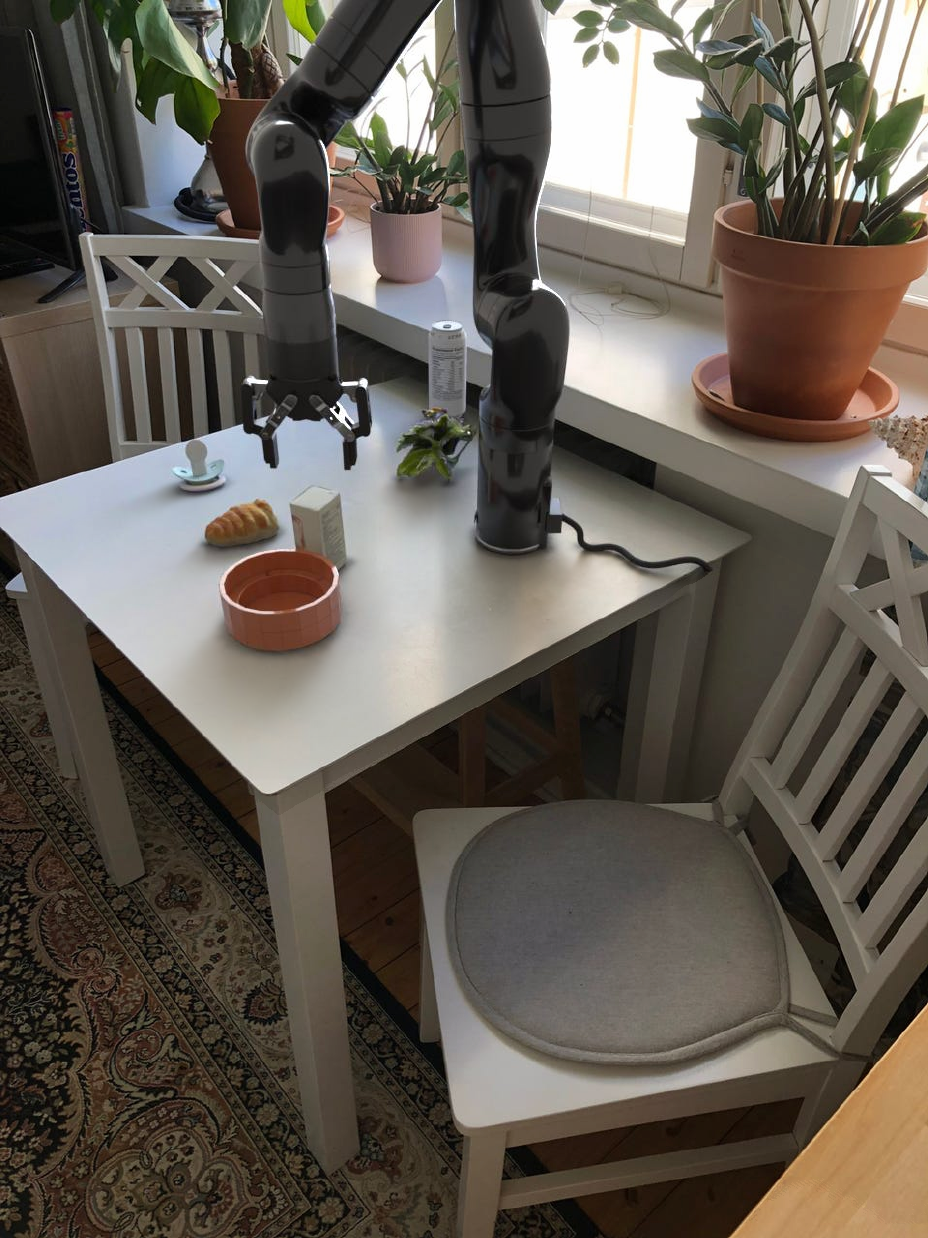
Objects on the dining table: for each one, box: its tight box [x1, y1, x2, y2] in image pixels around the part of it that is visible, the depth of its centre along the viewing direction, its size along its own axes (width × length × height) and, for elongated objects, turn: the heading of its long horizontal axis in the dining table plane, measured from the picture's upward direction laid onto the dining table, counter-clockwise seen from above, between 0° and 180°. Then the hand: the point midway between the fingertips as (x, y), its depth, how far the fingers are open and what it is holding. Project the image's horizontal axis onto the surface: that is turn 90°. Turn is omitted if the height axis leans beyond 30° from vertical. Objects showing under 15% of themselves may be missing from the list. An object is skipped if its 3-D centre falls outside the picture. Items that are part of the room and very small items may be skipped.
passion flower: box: [395, 407, 478, 485], centre depth 135 cm, size 11×11×12 cm
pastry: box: [204, 498, 281, 548], centre depth 121 cm, size 9×7×4 cm
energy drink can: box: [428, 319, 468, 419], centre depth 150 cm, size 6×6×15 cm
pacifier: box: [172, 438, 227, 492], centre depth 132 cm, size 7×6×6 cm
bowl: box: [218, 548, 343, 651], centre depth 106 cm, size 13×13×6 cm
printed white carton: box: [289, 484, 348, 572], centre depth 113 cm, size 5×4×10 cm
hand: (311, 466), depth 108 cm, fingers open, 8 cm apart
